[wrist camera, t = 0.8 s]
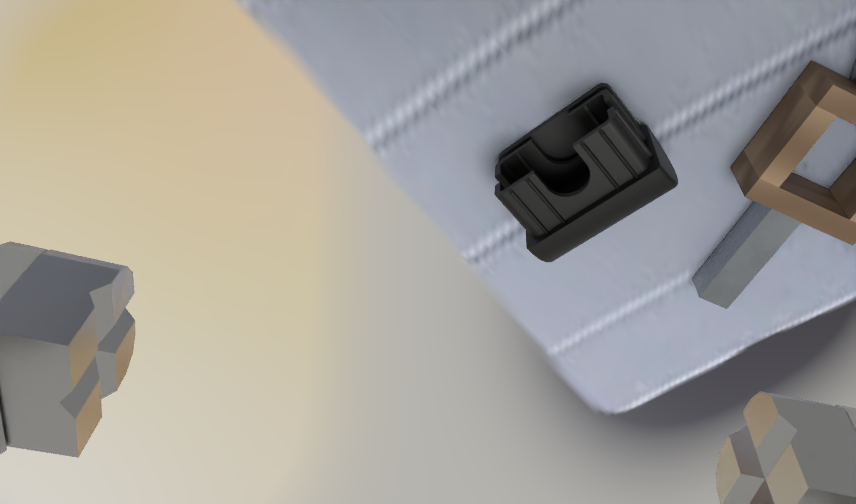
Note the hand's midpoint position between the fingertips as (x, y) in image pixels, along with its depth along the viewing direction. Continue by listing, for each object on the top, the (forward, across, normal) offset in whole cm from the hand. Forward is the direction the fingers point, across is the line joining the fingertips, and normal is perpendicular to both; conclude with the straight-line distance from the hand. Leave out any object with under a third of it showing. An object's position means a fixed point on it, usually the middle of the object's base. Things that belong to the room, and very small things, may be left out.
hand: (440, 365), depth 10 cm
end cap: (+43, -10, +17) cm, 47 cm away
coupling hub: (+42, -26, +12) cm, 51 cm away
